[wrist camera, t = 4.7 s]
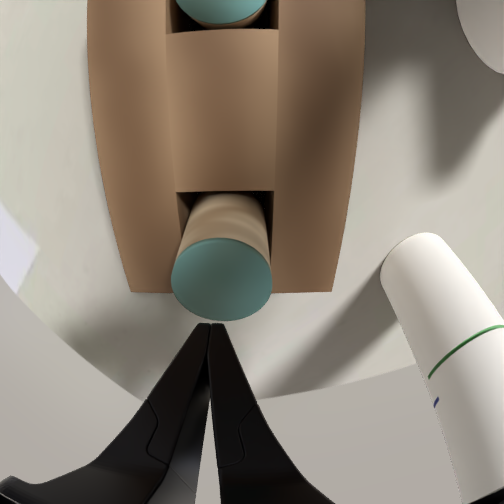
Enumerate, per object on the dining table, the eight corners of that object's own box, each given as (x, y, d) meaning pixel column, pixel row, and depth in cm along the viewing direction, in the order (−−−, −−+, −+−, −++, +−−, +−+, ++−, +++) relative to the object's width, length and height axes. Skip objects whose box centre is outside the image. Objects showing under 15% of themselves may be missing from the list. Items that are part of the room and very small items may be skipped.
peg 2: (265, 183, 16) (274, 242, 11) (263, 247, 18) (269, 320, 13) (188, 184, 15) (163, 244, 11) (194, 248, 18) (179, 320, 13)
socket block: (329, -39, 11) (361, -72, 6) (313, 237, 23) (331, 291, 18) (133, -32, 11) (92, -59, 6) (153, 239, 22) (131, 292, 17)
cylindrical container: (382, 305, 27) (459, 562, 6) (376, 246, 23) (496, 572, 3) (444, 282, 26) (545, 510, 5) (448, 223, 22) (600, 489, 1)
